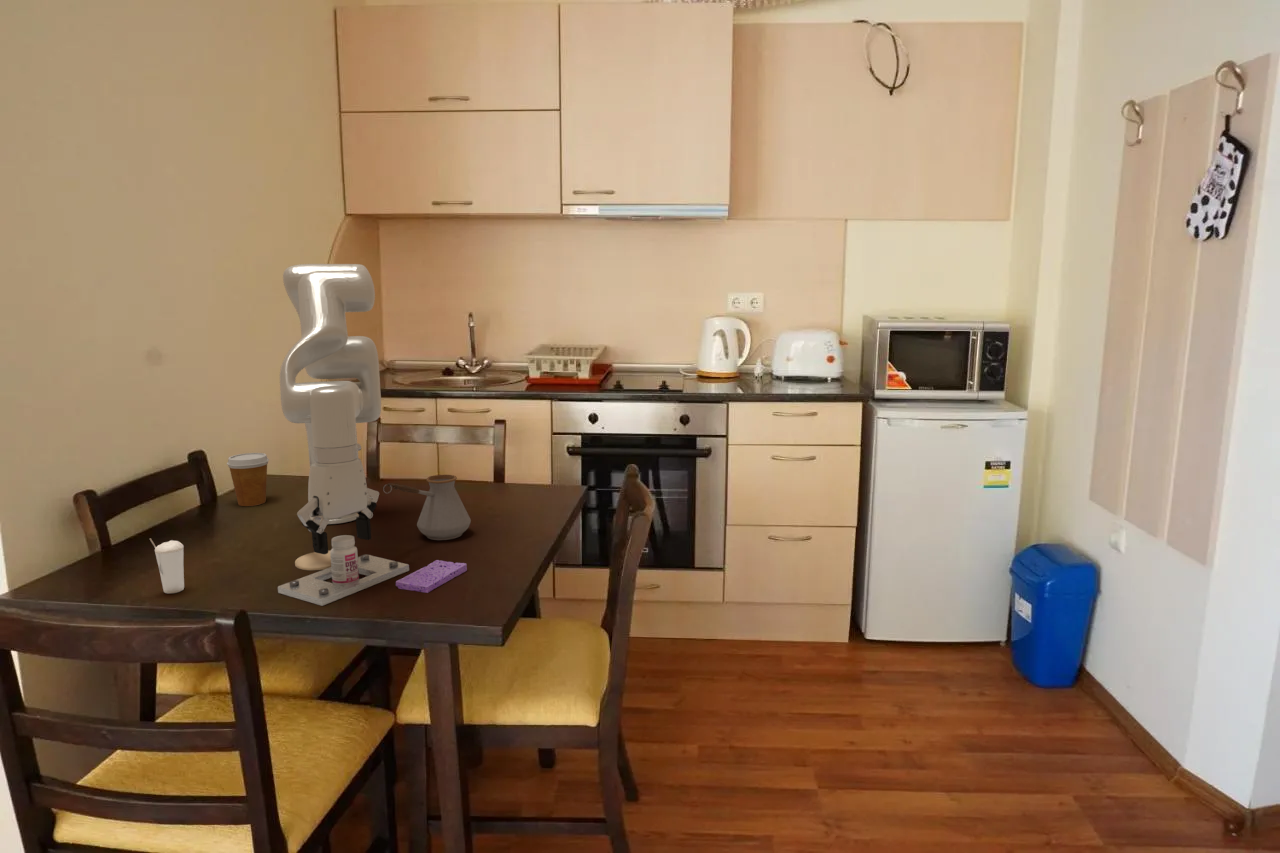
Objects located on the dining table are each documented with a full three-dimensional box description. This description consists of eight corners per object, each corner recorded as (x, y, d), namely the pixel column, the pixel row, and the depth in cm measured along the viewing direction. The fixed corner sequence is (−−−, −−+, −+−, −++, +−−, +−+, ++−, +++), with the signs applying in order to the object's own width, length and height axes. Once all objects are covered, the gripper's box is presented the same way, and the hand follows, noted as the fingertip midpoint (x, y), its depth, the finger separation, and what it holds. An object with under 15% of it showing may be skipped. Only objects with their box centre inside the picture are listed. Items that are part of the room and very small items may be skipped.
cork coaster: (326, 550, 173) (326, 547, 173) (359, 558, 168) (359, 555, 168) (284, 564, 164) (284, 561, 164) (317, 573, 159) (317, 570, 159)
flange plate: (366, 560, 167) (365, 551, 166) (409, 570, 161) (408, 561, 160) (278, 592, 150) (277, 583, 150) (322, 605, 144) (321, 596, 144)
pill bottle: (350, 587, 153) (347, 542, 151) (327, 585, 153) (323, 541, 152) (364, 577, 157) (361, 534, 156) (341, 576, 158) (338, 533, 157)
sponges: (467, 572, 161) (467, 563, 160) (427, 595, 149) (426, 586, 149) (437, 568, 163) (436, 559, 163) (395, 590, 152) (394, 580, 152)
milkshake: (162, 586, 154) (156, 534, 152) (192, 585, 154) (186, 533, 152) (150, 595, 149) (143, 542, 147) (181, 594, 150) (175, 541, 148)
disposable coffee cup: (259, 496, 216) (255, 450, 214) (280, 501, 210) (276, 455, 208) (223, 504, 208) (218, 457, 206) (244, 510, 203) (239, 462, 201)
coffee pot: (443, 524, 190) (440, 460, 188) (482, 531, 184) (479, 465, 182) (370, 551, 172) (365, 480, 170) (410, 560, 166) (406, 487, 164)
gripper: (360, 444, 160) (366, 531, 163) (280, 461, 145) (289, 555, 148) (387, 448, 156) (393, 536, 159) (309, 465, 142) (317, 562, 144)
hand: (343, 545), depth 154 cm, fingers open, 9 cm apart
